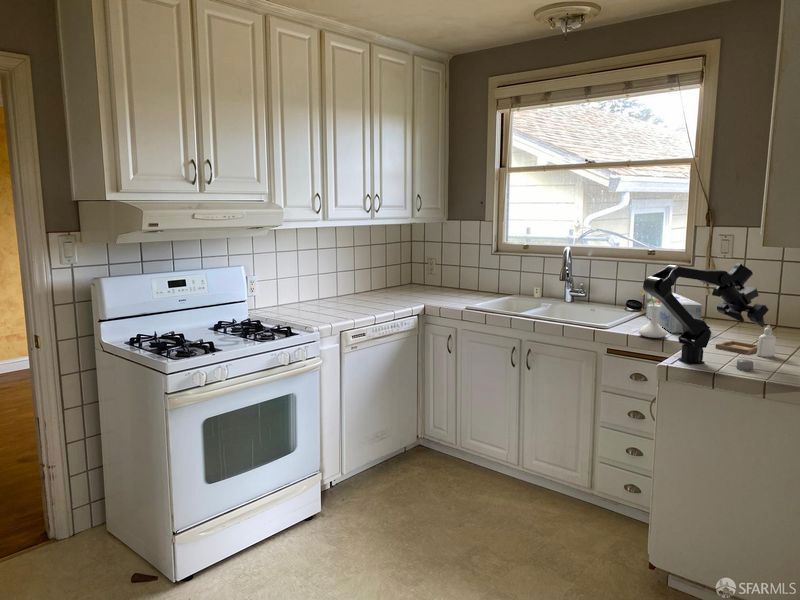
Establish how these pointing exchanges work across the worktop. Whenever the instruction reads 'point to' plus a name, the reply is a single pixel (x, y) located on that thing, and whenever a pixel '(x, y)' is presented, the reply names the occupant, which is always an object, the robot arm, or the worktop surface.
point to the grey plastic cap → (744, 364)
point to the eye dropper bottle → (766, 343)
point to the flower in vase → (652, 321)
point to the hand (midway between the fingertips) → (753, 323)
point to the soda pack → (666, 316)
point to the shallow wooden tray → (737, 347)
